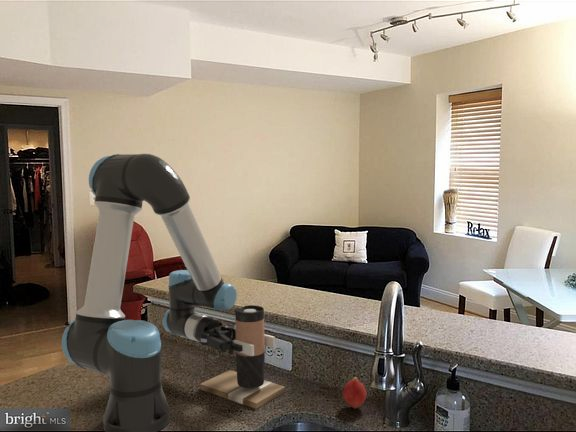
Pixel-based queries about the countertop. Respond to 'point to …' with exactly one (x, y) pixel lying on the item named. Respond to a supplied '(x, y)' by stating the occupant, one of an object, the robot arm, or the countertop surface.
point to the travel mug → (252, 333)
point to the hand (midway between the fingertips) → (263, 346)
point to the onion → (354, 393)
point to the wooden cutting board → (241, 390)
